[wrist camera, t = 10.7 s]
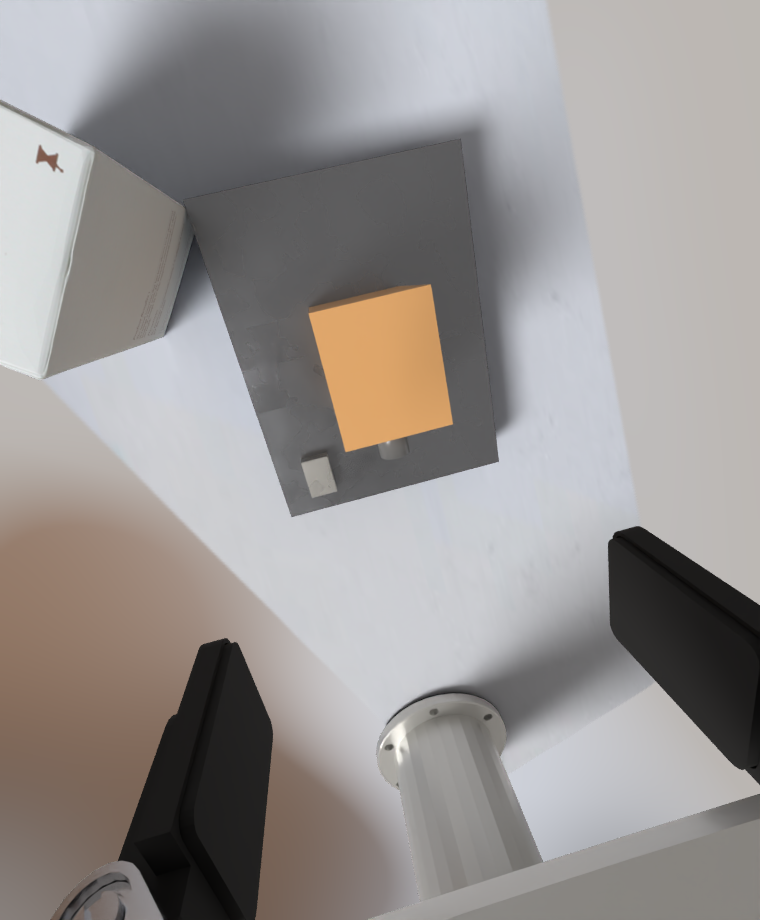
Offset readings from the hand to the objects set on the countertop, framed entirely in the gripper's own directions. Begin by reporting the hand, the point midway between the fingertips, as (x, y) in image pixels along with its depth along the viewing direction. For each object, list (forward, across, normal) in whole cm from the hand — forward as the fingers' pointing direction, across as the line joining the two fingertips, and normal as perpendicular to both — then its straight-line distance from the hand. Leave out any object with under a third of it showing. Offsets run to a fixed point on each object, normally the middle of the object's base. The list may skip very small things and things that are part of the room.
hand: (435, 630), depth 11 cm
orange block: (+19, -1, -5) cm, 19 cm away
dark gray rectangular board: (+20, -1, -5) cm, 21 cm away
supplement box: (+20, +11, -13) cm, 26 cm away
